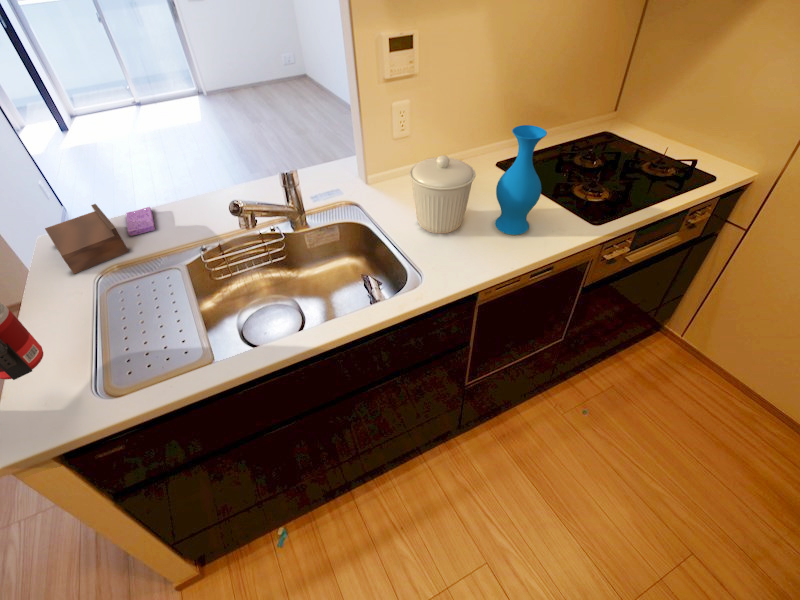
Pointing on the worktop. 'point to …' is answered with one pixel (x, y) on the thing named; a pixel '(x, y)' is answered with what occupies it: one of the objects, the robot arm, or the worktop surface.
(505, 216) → the vase
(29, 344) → the canned food
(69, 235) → the wooden lipped board
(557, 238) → the worktop surface
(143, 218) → the sponge
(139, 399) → the worktop surface
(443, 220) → the canister
